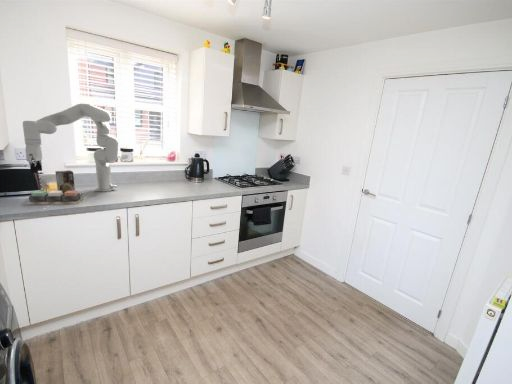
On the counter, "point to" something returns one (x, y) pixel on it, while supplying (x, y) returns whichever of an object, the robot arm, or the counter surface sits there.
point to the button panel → (55, 199)
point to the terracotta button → (71, 193)
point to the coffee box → (65, 181)
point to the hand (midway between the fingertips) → (36, 171)
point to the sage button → (39, 193)
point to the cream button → (55, 193)
